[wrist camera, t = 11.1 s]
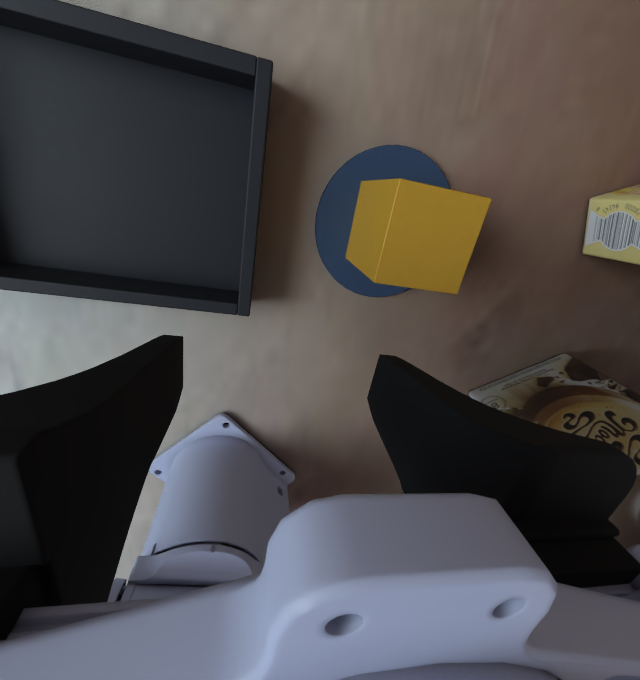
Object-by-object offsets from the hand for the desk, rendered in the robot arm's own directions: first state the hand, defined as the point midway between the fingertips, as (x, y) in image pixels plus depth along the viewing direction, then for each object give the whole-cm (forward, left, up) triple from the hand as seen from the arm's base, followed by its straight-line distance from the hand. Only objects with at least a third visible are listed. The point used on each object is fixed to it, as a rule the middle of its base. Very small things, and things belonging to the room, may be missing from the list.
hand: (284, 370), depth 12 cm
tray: (+10, +3, -10) cm, 15 cm away
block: (-1, -8, -10) cm, 13 cm away
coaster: (-1, -8, -10) cm, 13 cm away
